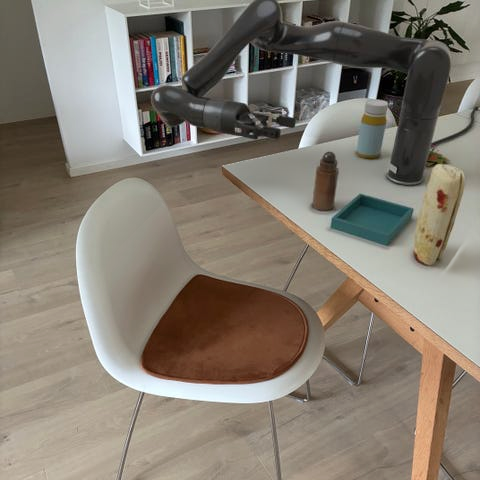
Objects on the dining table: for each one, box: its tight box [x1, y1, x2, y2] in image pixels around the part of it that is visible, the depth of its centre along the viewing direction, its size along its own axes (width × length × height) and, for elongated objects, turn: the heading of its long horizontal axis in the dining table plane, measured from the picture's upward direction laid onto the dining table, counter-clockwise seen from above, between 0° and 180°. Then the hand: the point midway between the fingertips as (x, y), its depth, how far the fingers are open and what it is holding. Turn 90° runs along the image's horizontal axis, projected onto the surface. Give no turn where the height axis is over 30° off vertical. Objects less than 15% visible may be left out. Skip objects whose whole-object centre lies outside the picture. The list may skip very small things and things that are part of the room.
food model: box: [412, 163, 466, 267], centre depth 104 cm, size 10×7×20 cm
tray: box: [330, 193, 415, 247], centre depth 121 cm, size 16×14×3 cm
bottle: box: [355, 98, 389, 160], centre depth 151 cm, size 7×7×15 cm
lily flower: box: [426, 145, 452, 167], centre depth 152 cm, size 12×12×5 cm
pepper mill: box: [311, 150, 340, 213], centre depth 123 cm, size 6×6×14 cm
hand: (287, 128), depth 121 cm, fingers open, 8 cm apart
